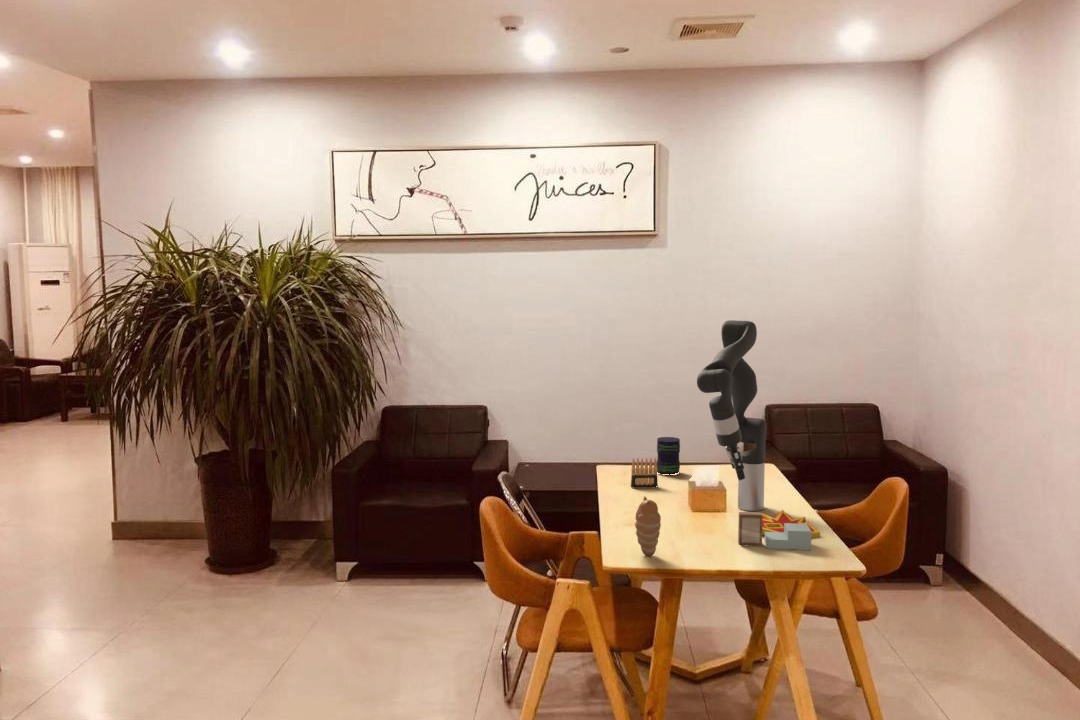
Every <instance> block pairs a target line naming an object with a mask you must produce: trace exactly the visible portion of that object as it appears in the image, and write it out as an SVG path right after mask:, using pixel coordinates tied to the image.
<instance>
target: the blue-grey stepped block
mask: <svg viewBox="0 0 1080 720" xmlns="http://www.w3.org/2000/svg"><path fill="white" fill-rule="evenodd" d="M764 542H765V545H766V548H767V549H768V550H788V549H798V550H797V551H811V550H812V537H811V530H810V528H809V527H808V525H807V524H792V523H784V532H765V535H764Z"/></svg>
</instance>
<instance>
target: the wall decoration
mask: <svg viewBox="0 0 1080 720" xmlns="http://www.w3.org/2000/svg"><path fill="white" fill-rule="evenodd" d="M761 513H762V512H761ZM762 515H763V518H762V536H765V532H784V523H792V524H807V525H808V527H809V528H810V530H811V538H816V537H817V536H820V537H821V532H820V531H819V529H817V528H815V527H814V526H813V525H812V524H811V523H810V522H809V521H808V522H807V521H806V516H802V517H798V518H793V517H792V516H791V515H789V514H788V512H785V511H784V509H781V511H779V512H778V513H777V514H774V517H772V516H770V515H767V514H765V513H762ZM817 538H818V537H817Z"/></svg>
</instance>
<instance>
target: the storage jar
mask: <svg viewBox="0 0 1080 720" xmlns="http://www.w3.org/2000/svg"><path fill="white" fill-rule="evenodd" d="M680 441H681V439H680V438H679V437H674V436H673V437H672V436H662V437H658V438H657V439H656V453H657V459H656V461H657V472H658V473H660V474H669V475H670V474H675V473H678V472H679V473H680V468H681V466H680V464H681V462H680V451H681V449H680V448H681V442H680Z"/></svg>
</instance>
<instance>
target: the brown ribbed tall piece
mask: <svg viewBox="0 0 1080 720" xmlns="http://www.w3.org/2000/svg"><path fill="white" fill-rule="evenodd" d="M635 520H636V521H635V523H634V526H635V529H636V530H635V535H636V537H637V543H638V544H639V546H640V549H641V552H642V554H643V555H645V556H646V557H651V556H653V555H655V553H656V551H657V545H658V542H659V537H660V534H661V533H660V530H661V527H662V526H661V525H662V524H661V520H662V518H661V515H660V513H659V507H658V504H657V503H656V502H655V501H654V500H652V499H648V498H647V497H646V495H644V496H643V501H641V503H640V504H639V505H638V507H637V510H636V512H635Z"/></svg>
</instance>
